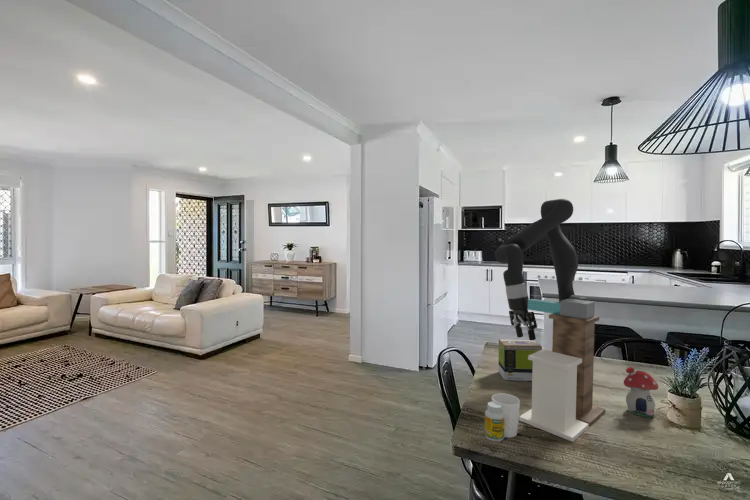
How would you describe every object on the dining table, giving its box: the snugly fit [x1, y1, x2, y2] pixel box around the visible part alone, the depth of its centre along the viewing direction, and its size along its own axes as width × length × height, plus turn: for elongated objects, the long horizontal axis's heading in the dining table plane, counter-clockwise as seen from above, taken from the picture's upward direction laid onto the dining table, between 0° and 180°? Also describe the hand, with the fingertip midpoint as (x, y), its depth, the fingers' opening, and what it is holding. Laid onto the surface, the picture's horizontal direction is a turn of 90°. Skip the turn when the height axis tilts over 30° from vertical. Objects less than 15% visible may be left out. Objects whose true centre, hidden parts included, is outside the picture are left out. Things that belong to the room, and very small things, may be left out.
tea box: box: [498, 338, 543, 382], centre depth 152 cm, size 15×10×15 cm, turn 84°
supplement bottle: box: [484, 401, 505, 442], centre depth 106 cm, size 5×5×10 cm
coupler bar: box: [528, 298, 596, 320], centre depth 125 cm, size 20×7×5 cm, turn 41°
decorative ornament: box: [623, 366, 659, 419], centre depth 121 cm, size 9×6×15 cm
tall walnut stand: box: [548, 313, 606, 427], centre depth 122 cm, size 16×14×32 cm
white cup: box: [491, 392, 521, 439], centre depth 108 cm, size 8×8×10 cm
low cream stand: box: [518, 349, 589, 443], centre depth 113 cm, size 16×12×21 cm
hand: (526, 338), depth 138 cm, fingers open, 8 cm apart
